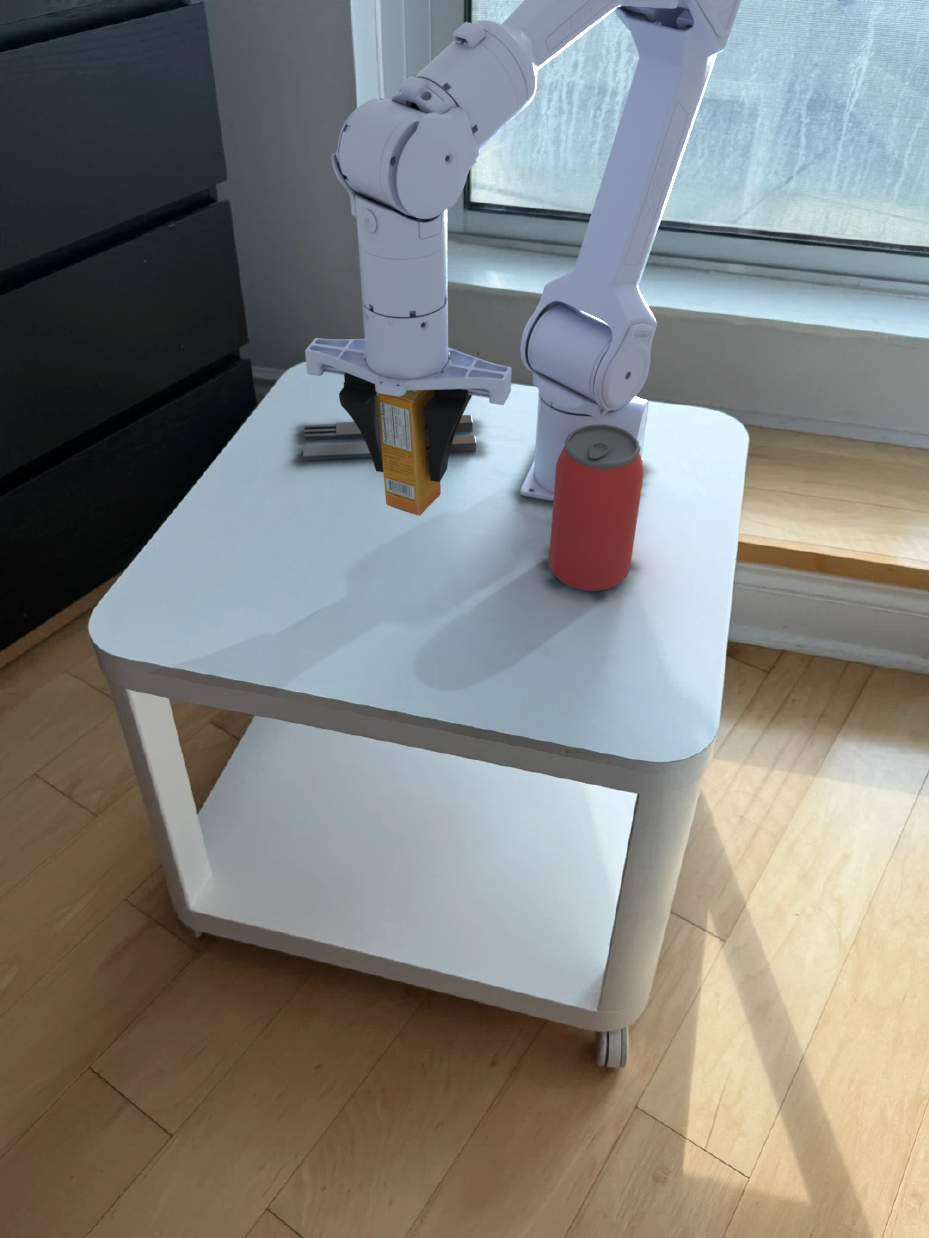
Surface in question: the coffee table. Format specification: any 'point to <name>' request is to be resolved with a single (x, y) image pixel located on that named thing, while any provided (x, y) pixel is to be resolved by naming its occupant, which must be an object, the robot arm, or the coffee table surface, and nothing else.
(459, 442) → the cutlery
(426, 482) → the supplement box
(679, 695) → the coffee table surface
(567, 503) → the beer can
